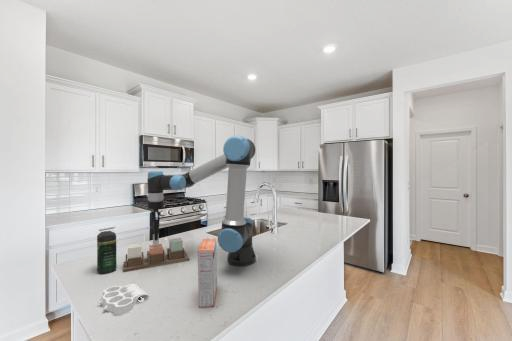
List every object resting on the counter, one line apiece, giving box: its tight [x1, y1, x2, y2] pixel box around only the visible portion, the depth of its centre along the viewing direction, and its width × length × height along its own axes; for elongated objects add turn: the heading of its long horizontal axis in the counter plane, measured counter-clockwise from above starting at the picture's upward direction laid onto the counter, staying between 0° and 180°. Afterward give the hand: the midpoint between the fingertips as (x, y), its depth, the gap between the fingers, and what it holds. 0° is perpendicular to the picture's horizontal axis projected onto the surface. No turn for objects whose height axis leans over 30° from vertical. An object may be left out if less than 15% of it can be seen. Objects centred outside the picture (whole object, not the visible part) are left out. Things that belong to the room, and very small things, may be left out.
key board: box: [122, 247, 190, 273], centre depth 126 cm, size 10×31×6 cm, turn 117°
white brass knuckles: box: [97, 283, 149, 316], centre depth 90 cm, size 3×18×15 cm
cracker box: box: [197, 238, 218, 308], centre depth 93 cm, size 14×6×21 cm, turn 5°
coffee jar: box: [96, 230, 117, 274], centre depth 117 cm, size 10×8×19 cm
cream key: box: [127, 242, 142, 260], centre depth 121 cm, size 6×6×6 cm
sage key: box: [168, 237, 184, 252], centre depth 130 cm, size 6×6×6 cm
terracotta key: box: [148, 243, 164, 255], centre depth 126 cm, size 6×6×6 cm
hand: (155, 245), depth 126 cm, fingers closed
